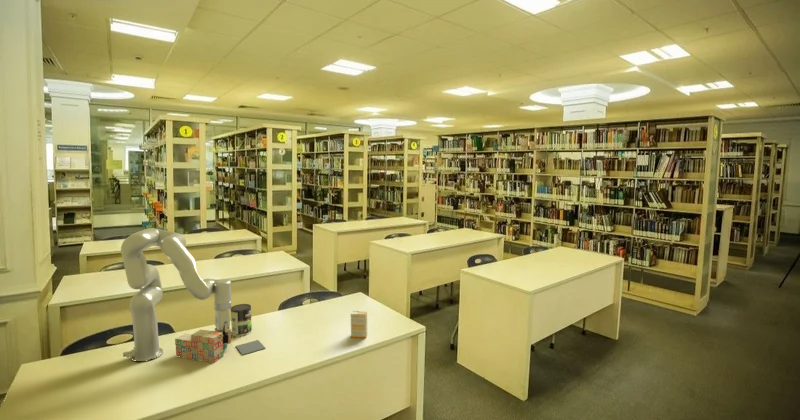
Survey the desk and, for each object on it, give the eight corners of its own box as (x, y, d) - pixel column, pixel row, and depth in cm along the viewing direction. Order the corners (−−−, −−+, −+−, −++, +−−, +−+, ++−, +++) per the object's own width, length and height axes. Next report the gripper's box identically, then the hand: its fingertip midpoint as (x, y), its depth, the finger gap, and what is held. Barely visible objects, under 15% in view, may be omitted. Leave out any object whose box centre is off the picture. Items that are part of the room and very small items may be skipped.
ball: (223, 351, 186) (220, 347, 185) (222, 349, 188) (218, 345, 187) (229, 347, 187) (225, 342, 186) (227, 345, 190) (224, 340, 189)
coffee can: (255, 328, 212) (254, 303, 210) (247, 336, 202) (246, 310, 200) (236, 327, 212) (235, 303, 211) (228, 336, 202) (226, 310, 200)
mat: (242, 355, 181) (242, 354, 181) (235, 346, 190) (235, 345, 190) (265, 348, 188) (265, 347, 188) (258, 340, 197) (258, 339, 197)
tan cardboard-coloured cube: (217, 346, 183) (217, 332, 182) (214, 341, 188) (214, 328, 187) (230, 343, 187) (231, 329, 186) (227, 338, 191) (227, 325, 191)
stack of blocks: (175, 357, 179) (174, 332, 178) (186, 351, 185) (184, 327, 184) (214, 363, 174) (213, 337, 173) (223, 356, 180) (222, 331, 179)
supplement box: (367, 334, 205) (367, 310, 204) (365, 338, 201) (365, 314, 199) (352, 333, 206) (352, 310, 205) (350, 337, 201) (350, 313, 200)
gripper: (210, 301, 190) (210, 335, 192) (219, 312, 176) (218, 349, 178) (226, 298, 194) (226, 332, 196) (236, 309, 181) (235, 345, 183)
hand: (222, 340), depth 187 cm, fingers closed on tan cardboard-coloured cube, 6 cm apart
